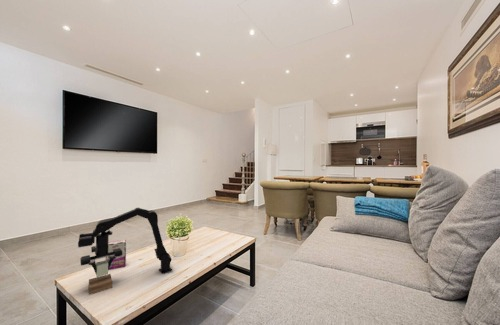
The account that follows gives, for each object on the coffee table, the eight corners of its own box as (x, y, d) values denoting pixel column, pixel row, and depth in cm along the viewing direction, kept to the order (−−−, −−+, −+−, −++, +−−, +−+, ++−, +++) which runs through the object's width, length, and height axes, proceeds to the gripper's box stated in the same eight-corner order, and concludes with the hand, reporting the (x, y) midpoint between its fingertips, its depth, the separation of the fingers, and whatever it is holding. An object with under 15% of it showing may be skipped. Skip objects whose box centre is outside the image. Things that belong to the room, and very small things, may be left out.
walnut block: (112, 288, 114) (112, 281, 114) (89, 295, 107) (89, 287, 107) (110, 280, 121) (110, 273, 121) (88, 286, 115) (88, 279, 115)
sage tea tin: (108, 273, 115) (108, 263, 115) (96, 277, 112) (97, 266, 112) (106, 270, 119) (106, 259, 119) (95, 273, 116) (96, 262, 116)
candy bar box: (126, 263, 142) (126, 239, 142) (125, 266, 137) (125, 241, 137) (106, 267, 136) (106, 242, 137) (105, 270, 132) (105, 244, 132)
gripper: (118, 235, 128) (118, 261, 128) (79, 243, 115) (79, 271, 115) (122, 241, 119) (122, 268, 119) (81, 249, 107) (80, 280, 107)
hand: (101, 271), depth 115 cm, fingers closed on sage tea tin, 5 cm apart
